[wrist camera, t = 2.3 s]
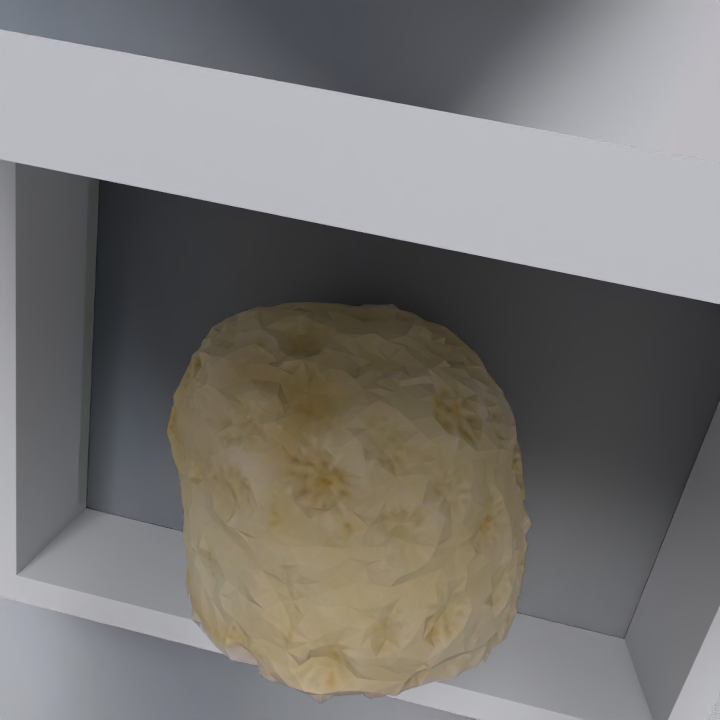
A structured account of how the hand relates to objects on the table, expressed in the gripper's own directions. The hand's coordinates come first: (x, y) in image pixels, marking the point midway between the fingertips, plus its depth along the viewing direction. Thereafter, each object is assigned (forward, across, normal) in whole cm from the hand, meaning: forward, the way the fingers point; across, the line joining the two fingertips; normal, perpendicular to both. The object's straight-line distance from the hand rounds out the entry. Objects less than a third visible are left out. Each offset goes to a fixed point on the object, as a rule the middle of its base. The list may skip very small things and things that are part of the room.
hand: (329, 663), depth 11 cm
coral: (+11, 0, 0) cm, 11 cm away
